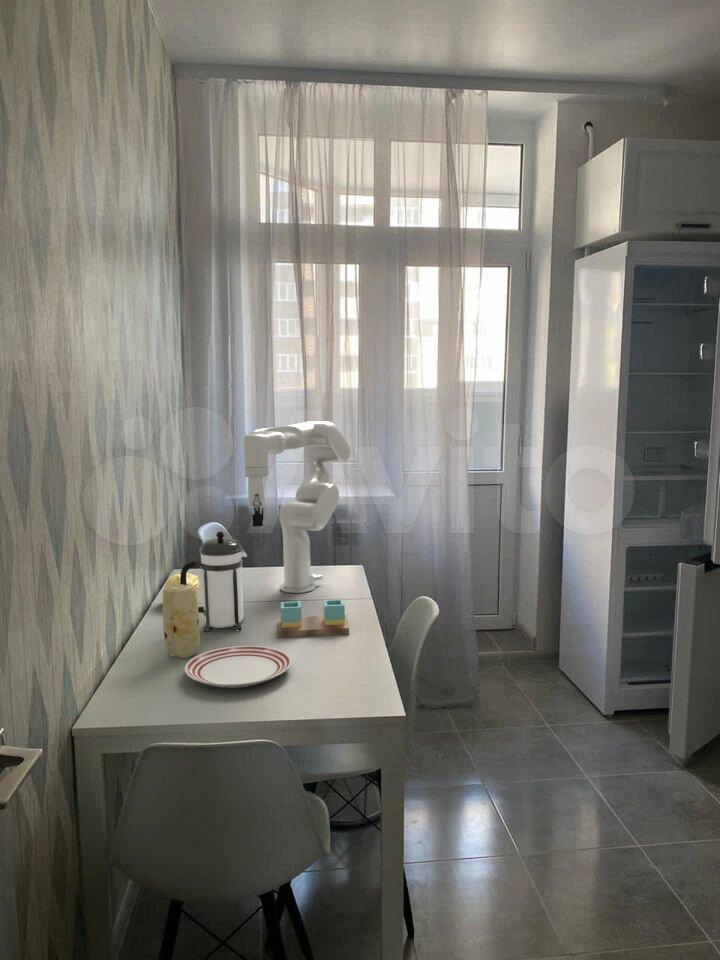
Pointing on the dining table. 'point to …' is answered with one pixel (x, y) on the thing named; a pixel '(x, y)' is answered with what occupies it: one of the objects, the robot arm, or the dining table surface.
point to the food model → (181, 620)
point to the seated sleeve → (291, 614)
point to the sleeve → (334, 612)
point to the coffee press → (220, 582)
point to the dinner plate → (238, 666)
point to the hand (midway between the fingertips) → (258, 523)
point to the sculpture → (190, 579)
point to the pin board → (312, 628)
